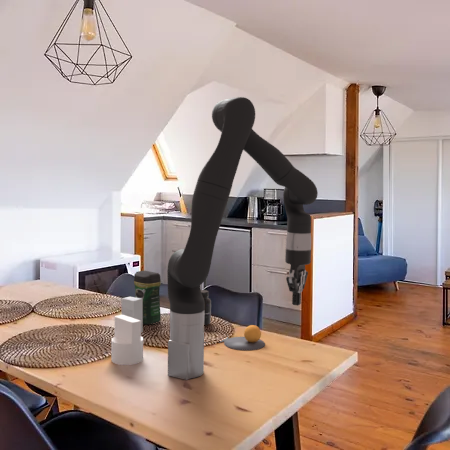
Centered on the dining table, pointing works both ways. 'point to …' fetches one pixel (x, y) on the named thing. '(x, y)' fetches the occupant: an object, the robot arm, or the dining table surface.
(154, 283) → the coffee jar
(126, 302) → the skincare box
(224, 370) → the dining table surface
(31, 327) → the dining table surface
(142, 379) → the dining table surface
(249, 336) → the ball
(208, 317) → the supplement bottle
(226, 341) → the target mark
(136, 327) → the cylinder with rectangular tab
